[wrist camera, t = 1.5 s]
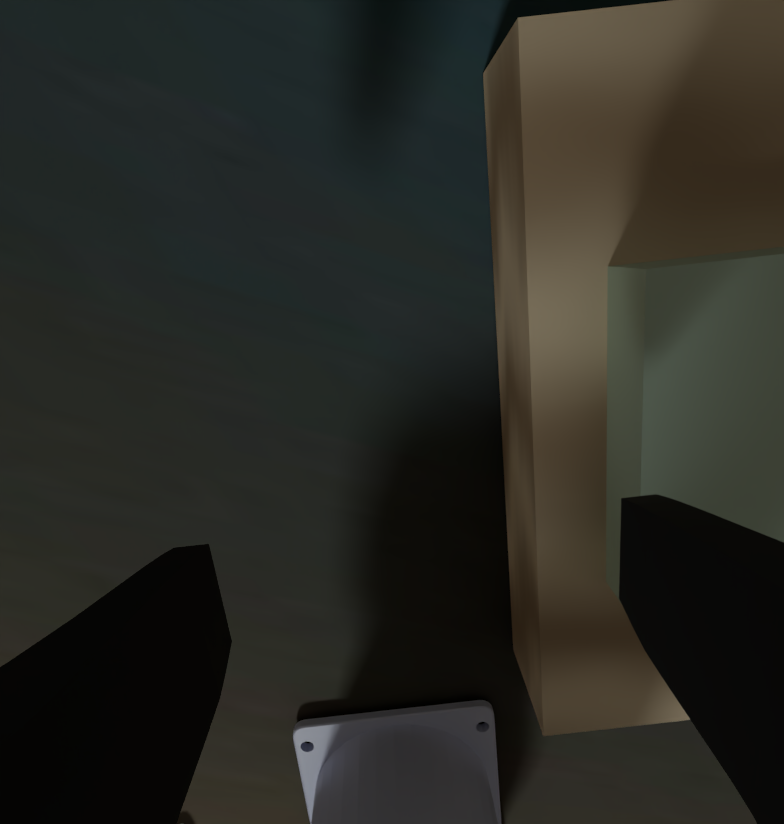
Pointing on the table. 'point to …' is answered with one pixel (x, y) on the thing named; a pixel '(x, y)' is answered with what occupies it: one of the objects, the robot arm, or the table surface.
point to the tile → (697, 389)
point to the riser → (588, 281)
